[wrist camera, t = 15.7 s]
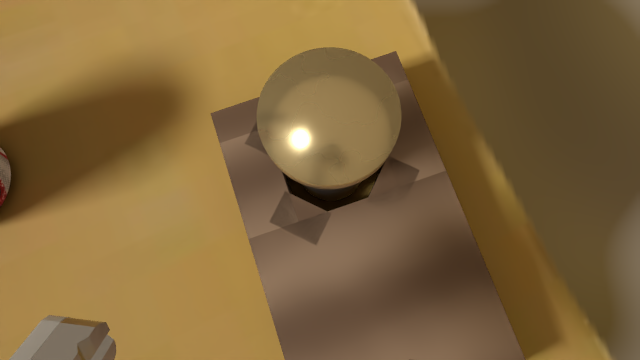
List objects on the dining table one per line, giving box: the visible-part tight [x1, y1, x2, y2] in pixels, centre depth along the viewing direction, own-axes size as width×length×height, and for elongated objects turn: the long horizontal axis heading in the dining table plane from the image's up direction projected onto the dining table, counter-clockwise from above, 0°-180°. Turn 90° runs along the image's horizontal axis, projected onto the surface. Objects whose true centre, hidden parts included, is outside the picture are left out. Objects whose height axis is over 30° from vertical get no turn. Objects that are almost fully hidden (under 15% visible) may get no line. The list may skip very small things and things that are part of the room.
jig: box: [211, 51, 525, 360], centre depth 24 cm, size 20×12×3 cm, turn 19°
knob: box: [257, 48, 402, 201], centre depth 21 cm, size 6×6×10 cm
